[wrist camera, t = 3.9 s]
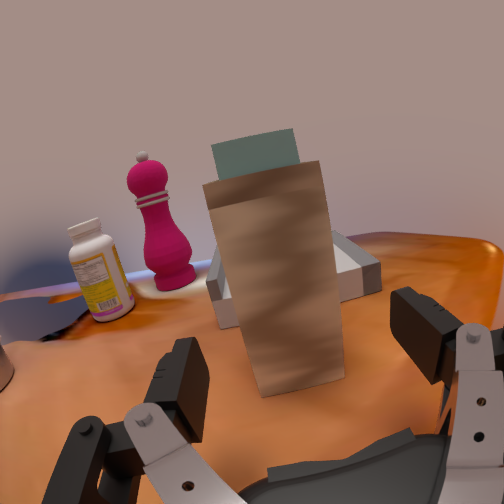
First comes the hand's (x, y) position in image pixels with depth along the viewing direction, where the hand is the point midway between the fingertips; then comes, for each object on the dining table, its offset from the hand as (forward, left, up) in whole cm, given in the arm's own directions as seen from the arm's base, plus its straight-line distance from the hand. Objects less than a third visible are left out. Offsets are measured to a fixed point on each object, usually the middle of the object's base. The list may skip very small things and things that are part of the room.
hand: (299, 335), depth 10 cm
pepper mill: (-14, +30, -7) cm, 33 cm away
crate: (0, +7, -7) cm, 10 cm away
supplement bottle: (-22, +23, -7) cm, 32 cm away
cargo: (0, +7, +5) cm, 8 cm away
